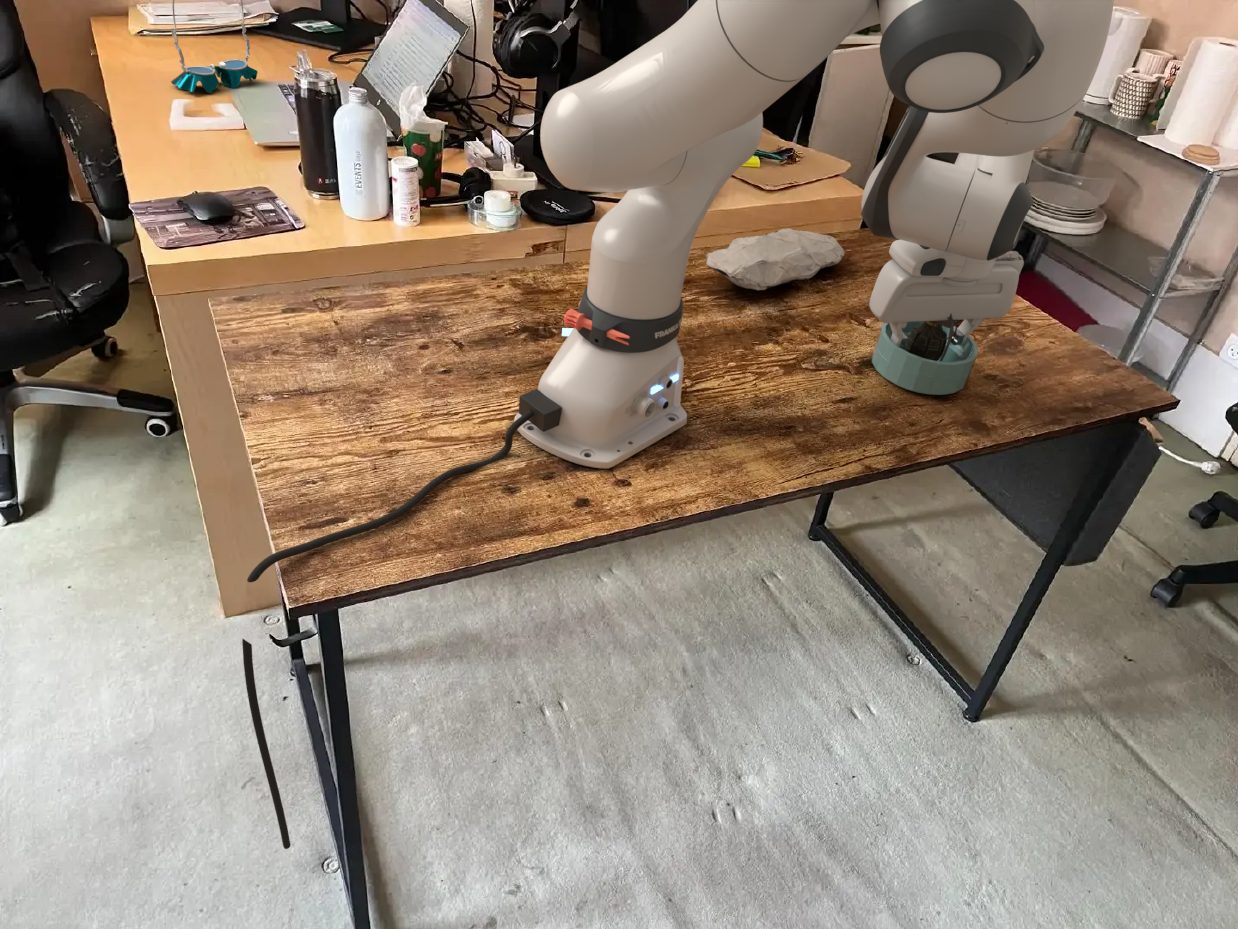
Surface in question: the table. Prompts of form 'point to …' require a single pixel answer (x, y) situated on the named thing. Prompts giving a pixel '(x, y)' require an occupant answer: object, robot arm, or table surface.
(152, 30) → the table surface
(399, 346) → the table surface
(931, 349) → the grenade
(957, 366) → the bowl
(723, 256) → the stone
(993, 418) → the table surface
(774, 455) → the table surface
